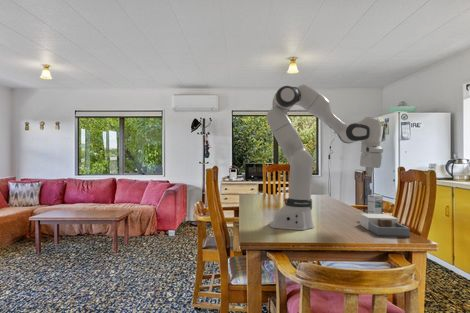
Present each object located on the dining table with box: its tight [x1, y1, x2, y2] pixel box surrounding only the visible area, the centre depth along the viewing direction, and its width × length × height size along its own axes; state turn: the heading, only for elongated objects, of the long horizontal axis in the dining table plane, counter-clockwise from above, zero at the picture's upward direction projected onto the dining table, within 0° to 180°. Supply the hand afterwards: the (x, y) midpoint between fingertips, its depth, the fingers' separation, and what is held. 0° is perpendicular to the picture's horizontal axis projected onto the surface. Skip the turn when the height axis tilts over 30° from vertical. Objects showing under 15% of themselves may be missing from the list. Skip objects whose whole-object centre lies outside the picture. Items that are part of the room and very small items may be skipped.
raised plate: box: [359, 212, 399, 231], centre depth 160 cm, size 14×12×6 cm
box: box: [368, 222, 411, 238], centre depth 148 cm, size 14×12×4 cm
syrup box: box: [367, 194, 384, 214], centre depth 179 cm, size 6×6×14 cm
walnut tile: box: [378, 219, 392, 227], centre depth 152 cm, size 5×5×3 cm
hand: (368, 176), depth 160 cm, fingers closed
